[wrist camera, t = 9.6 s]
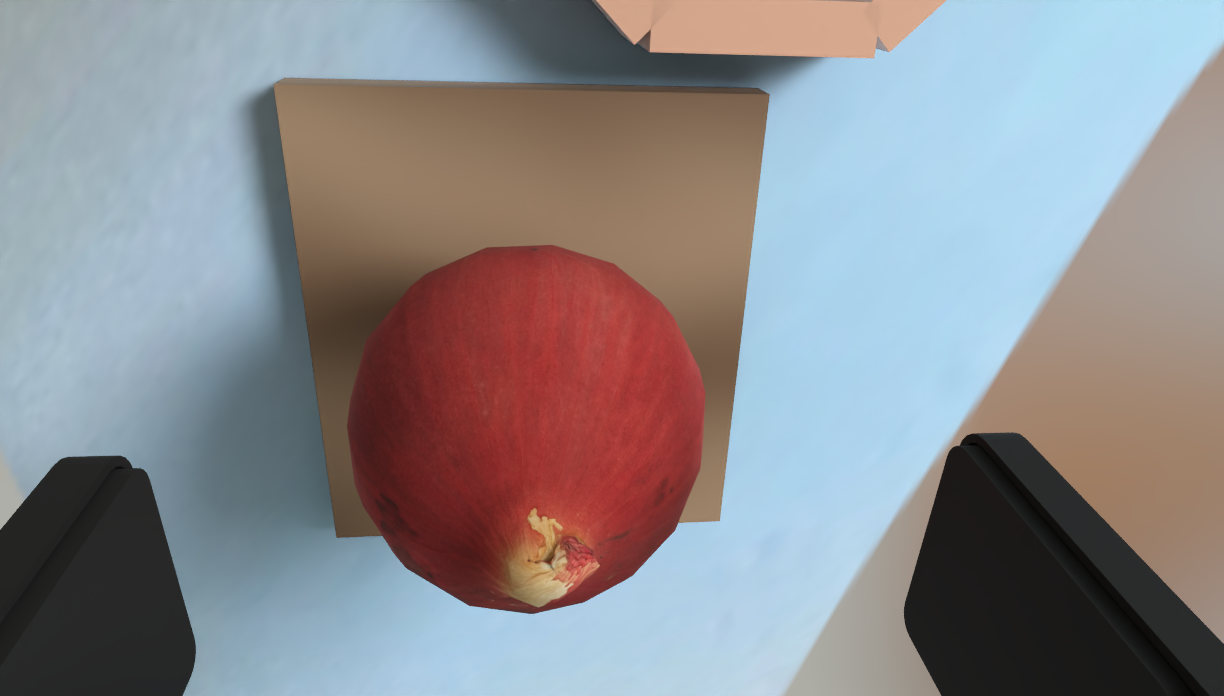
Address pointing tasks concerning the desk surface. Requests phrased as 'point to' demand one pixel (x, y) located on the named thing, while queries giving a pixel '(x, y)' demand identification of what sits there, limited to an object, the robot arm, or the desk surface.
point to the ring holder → (767, 25)
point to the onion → (526, 427)
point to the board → (519, 215)
